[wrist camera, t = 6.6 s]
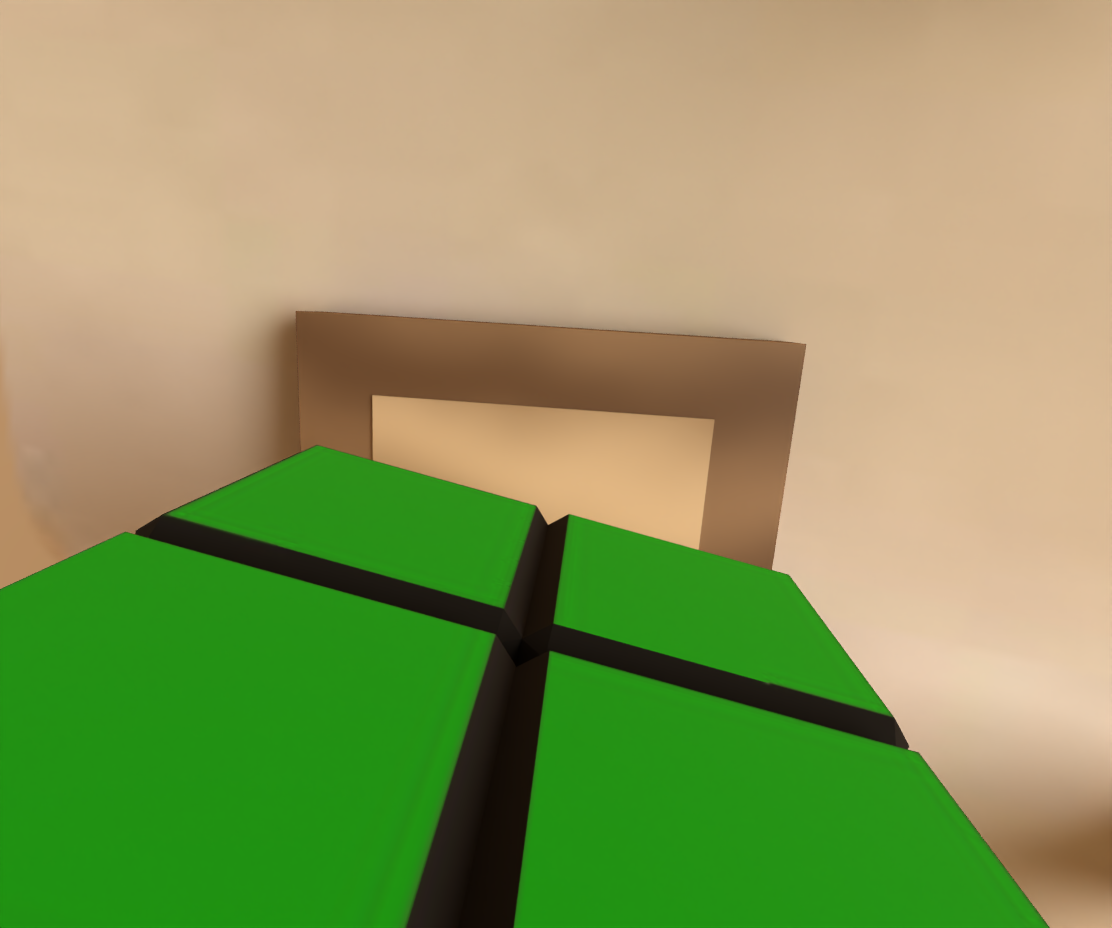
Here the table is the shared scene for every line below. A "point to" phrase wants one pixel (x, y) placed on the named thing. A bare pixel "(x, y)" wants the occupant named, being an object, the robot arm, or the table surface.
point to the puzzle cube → (451, 729)
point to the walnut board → (566, 419)
